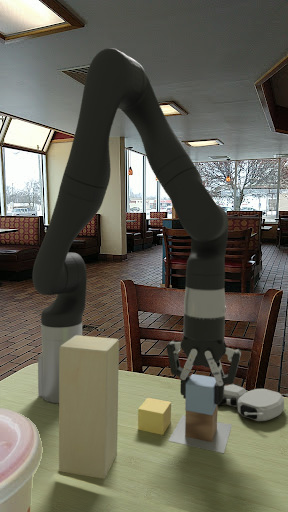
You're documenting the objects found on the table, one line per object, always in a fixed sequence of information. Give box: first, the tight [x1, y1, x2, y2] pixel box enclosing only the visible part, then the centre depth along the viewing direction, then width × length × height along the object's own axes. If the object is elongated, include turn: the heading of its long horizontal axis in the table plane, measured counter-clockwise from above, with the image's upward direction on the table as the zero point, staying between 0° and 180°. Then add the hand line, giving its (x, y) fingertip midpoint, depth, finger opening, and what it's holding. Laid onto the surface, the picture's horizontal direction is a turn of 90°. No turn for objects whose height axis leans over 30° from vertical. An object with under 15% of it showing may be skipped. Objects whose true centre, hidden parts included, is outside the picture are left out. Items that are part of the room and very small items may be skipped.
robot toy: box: [218, 383, 288, 422], centre depth 82 cm, size 12×4×15 cm
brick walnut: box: [185, 405, 219, 442], centre depth 71 cm, size 5×5×5 cm
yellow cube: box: [137, 397, 172, 436], centre depth 73 cm, size 5×5×5 cm
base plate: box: [167, 414, 233, 454], centre depth 71 cm, size 10×10×1 cm
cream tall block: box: [58, 335, 120, 479], centre depth 62 cm, size 8×7×21 cm
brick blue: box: [184, 373, 216, 415], centre depth 71 cm, size 5×5×5 cm
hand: (202, 399), depth 71 cm, fingers open, 5 cm apart
